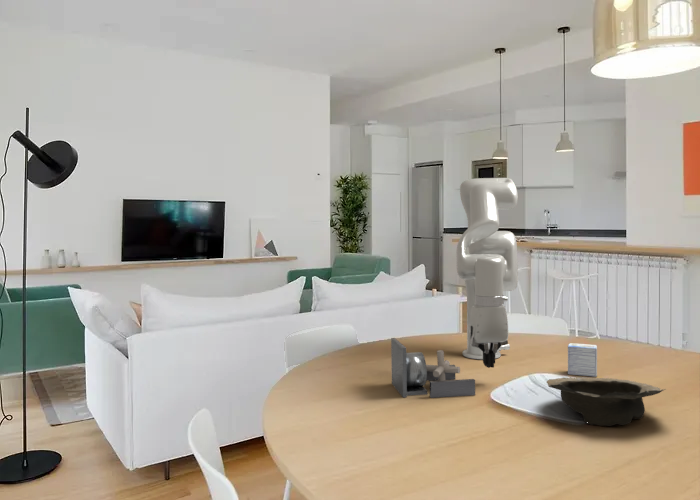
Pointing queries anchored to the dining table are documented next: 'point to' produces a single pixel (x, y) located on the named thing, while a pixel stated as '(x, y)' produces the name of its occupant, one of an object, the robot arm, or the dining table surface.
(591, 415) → the stone bowl
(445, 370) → the pipe connector
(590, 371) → the medicine box
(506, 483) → the dining table surface
